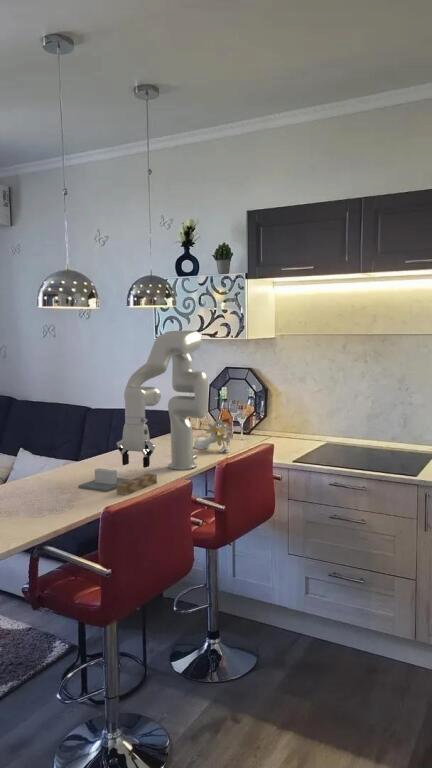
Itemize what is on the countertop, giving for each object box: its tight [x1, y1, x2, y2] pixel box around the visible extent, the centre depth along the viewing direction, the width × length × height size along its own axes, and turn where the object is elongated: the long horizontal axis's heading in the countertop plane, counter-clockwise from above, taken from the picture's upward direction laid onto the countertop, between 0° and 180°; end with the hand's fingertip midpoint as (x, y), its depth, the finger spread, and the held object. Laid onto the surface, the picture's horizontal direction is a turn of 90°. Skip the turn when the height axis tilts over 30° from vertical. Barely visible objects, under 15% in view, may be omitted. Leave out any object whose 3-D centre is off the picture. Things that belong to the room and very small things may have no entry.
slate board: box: [78, 468, 131, 493], centre depth 232 cm, size 16×14×6 cm
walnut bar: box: [116, 472, 158, 497], centre depth 226 cm, size 20×4×4 cm, turn 151°
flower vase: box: [193, 417, 234, 453], centre depth 298 cm, size 13×18×25 cm
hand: (135, 465), depth 225 cm, fingers open, 9 cm apart
